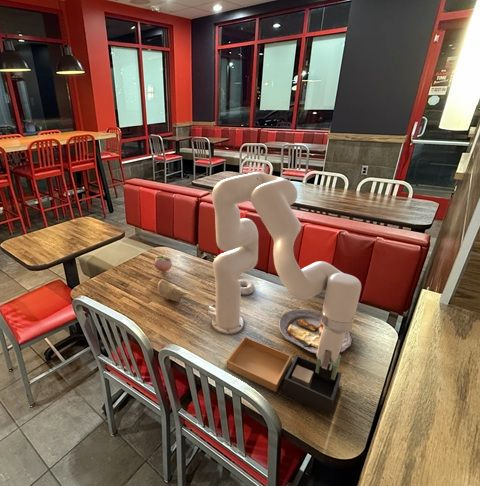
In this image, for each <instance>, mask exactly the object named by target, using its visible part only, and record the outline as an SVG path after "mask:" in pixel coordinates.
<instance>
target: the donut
mask: <svg viewBox="0 0 480 486" xmlns="http://www.w3.org/2000/svg"><path fill="white" fill-rule="evenodd" d="M237 280H238V281H239V283H240V285H241V295H242V296H246V295H251V294H253V292H254V291H255V284H254V283H253V282H252V281H250V280H249V279H237Z"/></svg>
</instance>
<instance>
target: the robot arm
mask: <svg viewBox="0 0 480 486" xmlns="http://www.w3.org/2000/svg"><path fill="white" fill-rule="evenodd" d="M297 199H298V189H297V187H296V185H295V184H294V183H293V182H292V181H290V179H287V178H284V177H282V176H281V177H280V176H276V175H272V174H268V173H265V172H259V171H258V172H250V173H246V174H245V173H244V174H242V175H235V176H231V177H229V178H228V177H227V178H225V179H222V180H220V181H218V182H217V183H216V184H215V185H214V187H213V189H212V192H211V200H212V205H213V209H214V218H215V219H214V222H215V225H214V226H215V242H216V246H217V247H218V249H219V250H221V251H223V252H222V253H220V254H218V255H217V256H215V258H214V259H213V261H212V270H213V275H214V282H215V307H213V306H211V305H210V306H208V308H207V310H208V312H207V315H209V316H211V317H212V318H211V325H212V327H213V329H214V330H215V331H217V332H219V333H222V334H229V335H231V334H236V333H238V332H240V331H242V329H243V327H244V324H245V323H244V322H245V321H244V319H243V317H242V316H241V301H242V300H241V299H242V298H241V297H242V296H241V295H242V294H241V285H240V283H239V281H238V280H239V279H238V277H239V276H240V275H242V274H245V273H247V272H249V271H251V270H253V269H254V268H255V267H256V266H257V265H258V261H259V231H258V228H257V225H256V224H255V222H254V221H253V220H252V219H251V218H247V217H246V218H245V217H244V218H241V211H240V208H239V206H238V204H242V203H247V202H249V201H250V202H251V204H252V206H253V209H254V210H255V211H256V213H257V215H258V217H259V219H260V220H261V222H262V223H263V225H264V226H265V228H266V230H267V231H268V233H269V235H270V236H271V238H272V240H273V250H272V254H273V264H274V268H275V272H276V273H277V275H278V277H279V279H280V281H281V282H282V284H283V285H284V287H285V289H286V290H287V291H288V293H289V294H290V295H291V296H293V298H296V299H297V300H300V301H306V300H310V299H312V298H313V297H315V296H317V295H319V294H320V293H324V292H325V293H324V299H323V306H322V311H321V313H322V316H321V323H322V325H323V329H322V333H321V337H320V341H319V346H318V351H317V354H315V355H316V358H317V359H318V358H320V359H321V358H322V361H321V364H320V367H319V373H318V375H319V376H321V377H323V378H326V379H328V380H330V379H331V375H332V371H333V368H332V365H333V364H334V363H335V362H336V360H337V358H338V355H340V354H341V353H340V350H341V348H342V345H343V341H344V338H345V334H346V333H347V332H349V331H350V332H351V331H352V330H353V327H354V323H355V318H356V313H357V309H358V304H359V300H360V296H361V292H362V283H361V281H360V280H359V278H357V277H356V276H354V275H351V274H349V273H344V272H342V271H341V270H339V269H338V268H336V267H335V266H334V265H332V264H331V263H330V262H327V261H323V260H319V261H315V262H313V263H310V264H309V265H306V266H304V267H302V268H301V267H300V266H299V264H298V262H297V260H296V258H295V257H296V256H295V254H294V245H295V241H296V239H297V237H298V235H299V234H300V232H301V230H302V223H301V221H300V220H299V218H298V217H297V215H296V213H295V212H294V210H293V209H292V207H291V206H292V205H294V204H295V203H296V202H297ZM330 357H331V358H330ZM329 362H331V363H330V365H328V363H329Z"/></svg>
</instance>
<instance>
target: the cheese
mask: <svg viewBox="0 0 480 486" xmlns="http://www.w3.org/2000/svg"><path fill="white" fill-rule="evenodd" d="M157 291H158V293H159V294H160V295H161V296H162V297H164V298H165V300H167V301H168V300H171V301H173V302H179V301H180V299H181V298H182V297H183V296H187V295H188V292H187V291H185V290H183V289H182V288H181V287H179V286H177V285H175V284H174V283H172V282H169V281H167V280H165V279H163V278H161V279H160V280H159V281H158V283H157Z"/></svg>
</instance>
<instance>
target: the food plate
mask: <svg viewBox="0 0 480 486" xmlns="http://www.w3.org/2000/svg"><path fill="white" fill-rule="evenodd" d="M321 316H322V311H318V310H316V309H311V308H298V309H292V310H289V311H287V312H285V313H284V314H283V315H282V316H281V317H280V318H279V321H278V330H279V331H280V333H281V334H282V336H283V337H284V338H285V339H286V340H288V341H290V342H291V343H293V344H295V345H297V346H298V347H300V348H302V349H304V350H306V351H308V352H310V353H313V354H315V355H317V351H318V346H319V341H320V337H321V333H322V329H323V325H322V323H321ZM352 344H353V337H352V333H351V331H349V332H347V333H346V334H345V338H344V341H343V345H342V348H341V350H340V353H339V354H343V353H344V352H346V351H347V350H348V349H349V348H351V346H352Z"/></svg>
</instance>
